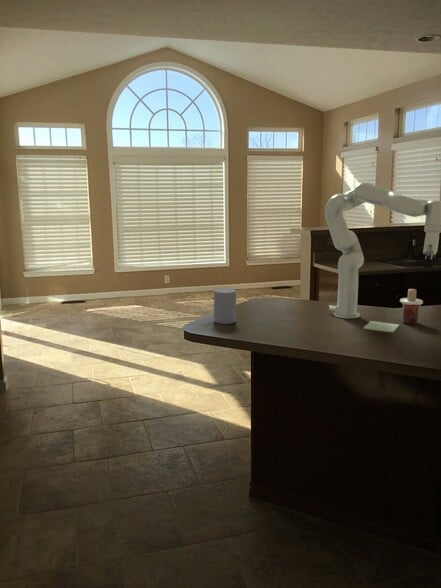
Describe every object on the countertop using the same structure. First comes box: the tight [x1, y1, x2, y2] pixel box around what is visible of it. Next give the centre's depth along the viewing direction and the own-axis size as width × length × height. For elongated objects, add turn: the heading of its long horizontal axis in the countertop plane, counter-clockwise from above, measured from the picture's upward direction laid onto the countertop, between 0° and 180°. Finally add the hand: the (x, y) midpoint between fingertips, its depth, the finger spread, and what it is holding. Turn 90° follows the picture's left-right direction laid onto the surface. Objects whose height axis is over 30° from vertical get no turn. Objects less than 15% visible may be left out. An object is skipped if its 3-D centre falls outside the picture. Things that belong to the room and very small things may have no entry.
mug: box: [401, 303, 422, 325], centre depth 244 cm, size 12×9×10 cm
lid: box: [399, 288, 424, 305], centre depth 243 cm, size 10×10×6 cm
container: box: [213, 287, 237, 325], centre depth 246 cm, size 10×10×15 cm
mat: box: [363, 320, 400, 334], centre depth 239 cm, size 13×13×1 cm
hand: (429, 266), depth 236 cm, fingers open, 9 cm apart
